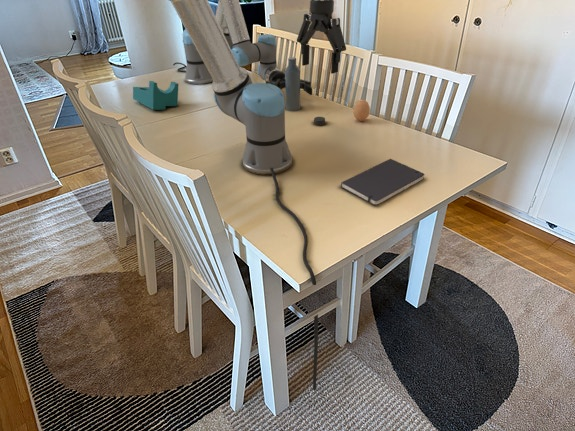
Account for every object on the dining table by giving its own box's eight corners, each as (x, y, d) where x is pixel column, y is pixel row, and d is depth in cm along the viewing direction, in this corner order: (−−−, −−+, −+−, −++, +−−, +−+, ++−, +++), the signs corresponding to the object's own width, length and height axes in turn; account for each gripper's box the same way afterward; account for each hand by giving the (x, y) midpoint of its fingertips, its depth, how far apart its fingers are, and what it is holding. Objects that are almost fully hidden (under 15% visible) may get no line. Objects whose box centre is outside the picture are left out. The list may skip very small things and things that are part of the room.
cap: (319, 126, 148) (319, 121, 147) (311, 123, 150) (311, 118, 149) (327, 123, 150) (327, 118, 149) (319, 120, 153) (319, 115, 152)
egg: (358, 124, 148) (359, 103, 143) (349, 119, 153) (351, 98, 148) (372, 121, 150) (374, 100, 145) (363, 116, 154) (364, 95, 150)
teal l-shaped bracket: (177, 109, 169) (178, 83, 164) (152, 109, 162) (153, 82, 157) (156, 99, 180) (157, 74, 175) (133, 98, 172) (133, 73, 168)
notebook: (389, 163, 124) (340, 187, 113) (390, 158, 123) (341, 182, 112) (424, 178, 116) (375, 206, 105) (425, 174, 115) (376, 201, 104)
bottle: (288, 104, 167) (287, 55, 155) (302, 106, 165) (302, 56, 154) (283, 109, 162) (282, 59, 151) (297, 111, 161) (297, 60, 149)
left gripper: (302, 83, 179) (324, 98, 163) (250, 91, 172) (267, 108, 156) (302, 66, 175) (324, 80, 158) (248, 73, 167) (266, 89, 151)
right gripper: (361, 1, 121) (354, 73, 133) (302, -6, 136) (301, 59, 148) (344, 4, 117) (339, 78, 129) (286, -4, 132) (286, 63, 144)
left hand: (296, 94), depth 157 cm, fingers open, 12 cm apart
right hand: (319, 68), depth 138 cm, fingers open, 13 cm apart
